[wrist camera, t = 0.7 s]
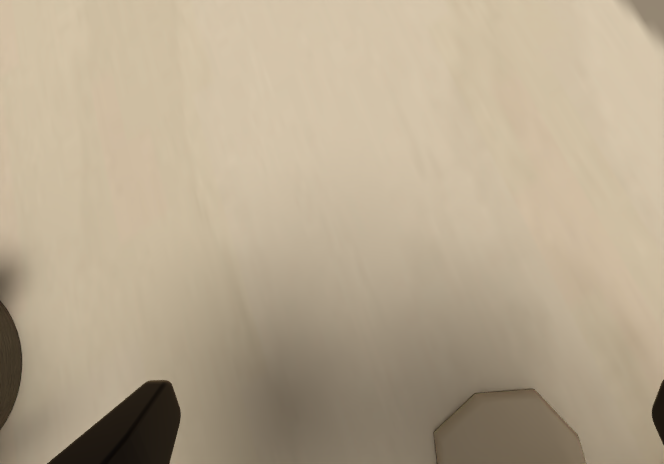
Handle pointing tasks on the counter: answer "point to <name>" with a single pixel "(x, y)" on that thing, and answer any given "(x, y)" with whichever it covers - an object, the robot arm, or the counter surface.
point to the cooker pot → (8, 364)
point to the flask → (507, 432)
